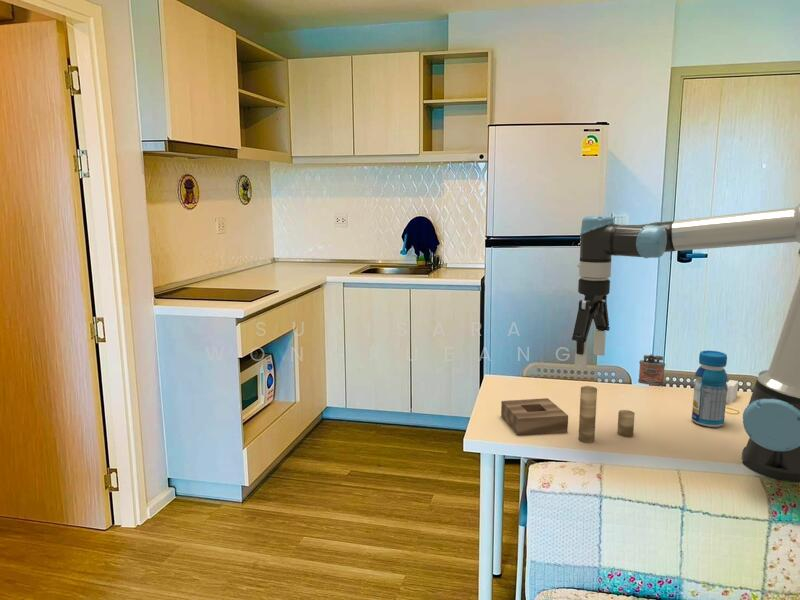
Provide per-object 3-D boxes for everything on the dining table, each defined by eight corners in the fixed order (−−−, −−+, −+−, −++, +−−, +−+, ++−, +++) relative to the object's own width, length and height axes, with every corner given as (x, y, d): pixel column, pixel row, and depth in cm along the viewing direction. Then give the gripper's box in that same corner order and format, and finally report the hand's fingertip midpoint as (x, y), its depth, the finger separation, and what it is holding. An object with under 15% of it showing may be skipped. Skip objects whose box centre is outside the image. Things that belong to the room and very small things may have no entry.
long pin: (597, 442, 153) (599, 390, 150) (582, 443, 152) (585, 391, 150) (590, 436, 157) (592, 385, 154) (575, 437, 156) (578, 386, 154)
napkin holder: (731, 393, 192) (733, 376, 191) (759, 405, 181) (761, 387, 180) (691, 396, 189) (692, 379, 188) (716, 408, 178) (718, 390, 177)
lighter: (637, 383, 201) (639, 354, 199) (638, 380, 204) (640, 352, 202) (663, 386, 197) (665, 357, 196) (664, 383, 200) (666, 355, 199)
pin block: (567, 433, 159) (568, 415, 158) (517, 436, 157) (518, 418, 156) (547, 414, 173) (547, 398, 172) (501, 417, 171) (501, 400, 170)
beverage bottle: (711, 430, 160) (717, 358, 157) (684, 419, 168) (689, 351, 164) (731, 424, 164) (737, 354, 161) (703, 414, 172) (709, 348, 168)
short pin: (636, 436, 157) (637, 414, 156) (622, 437, 156) (623, 415, 155) (628, 430, 160) (629, 409, 159) (614, 431, 160) (615, 410, 159)
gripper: (596, 272, 159) (592, 348, 163) (560, 282, 140) (557, 369, 143) (624, 274, 155) (619, 352, 159) (592, 285, 135) (587, 374, 139)
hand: (590, 360), depth 151 cm, fingers open, 13 cm apart
